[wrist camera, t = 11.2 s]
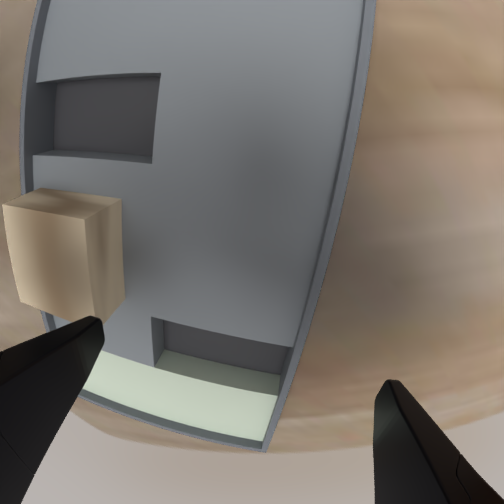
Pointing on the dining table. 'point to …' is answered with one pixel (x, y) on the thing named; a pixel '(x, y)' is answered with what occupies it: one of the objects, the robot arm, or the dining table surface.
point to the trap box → (201, 187)
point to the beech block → (67, 252)
